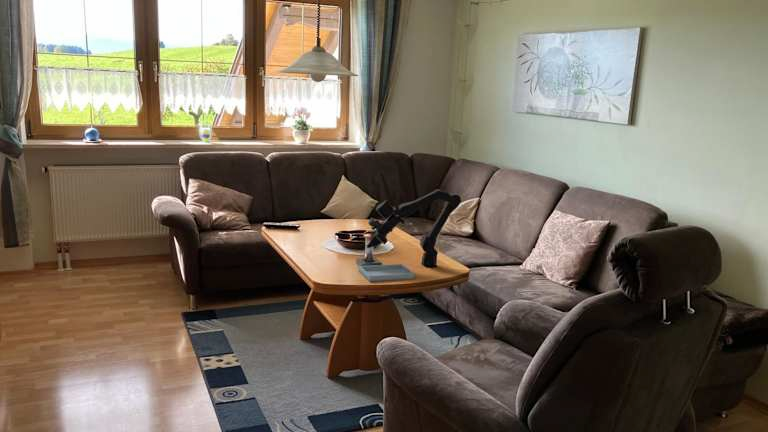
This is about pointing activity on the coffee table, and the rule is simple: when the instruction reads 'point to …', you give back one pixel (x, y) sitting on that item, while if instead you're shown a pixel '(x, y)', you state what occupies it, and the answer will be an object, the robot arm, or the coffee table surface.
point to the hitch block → (367, 262)
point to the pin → (368, 250)
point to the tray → (386, 272)
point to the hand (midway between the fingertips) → (366, 246)
